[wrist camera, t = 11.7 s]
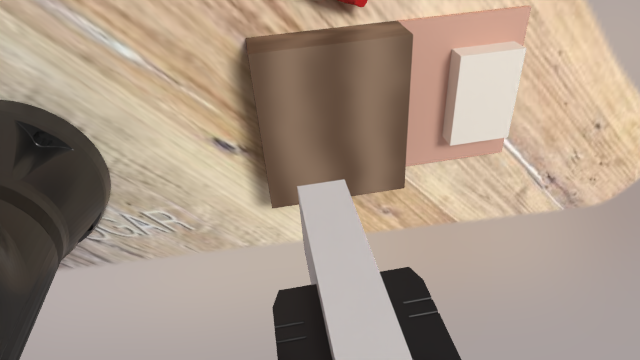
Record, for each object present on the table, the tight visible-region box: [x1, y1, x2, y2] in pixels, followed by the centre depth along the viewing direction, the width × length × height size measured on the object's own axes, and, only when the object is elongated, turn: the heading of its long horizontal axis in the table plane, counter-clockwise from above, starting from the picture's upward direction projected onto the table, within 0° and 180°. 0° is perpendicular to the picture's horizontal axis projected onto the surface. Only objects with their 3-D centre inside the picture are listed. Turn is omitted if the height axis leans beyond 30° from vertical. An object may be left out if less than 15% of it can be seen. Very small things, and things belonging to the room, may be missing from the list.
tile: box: [442, 41, 526, 146], centre depth 42 cm, size 6×9×2 cm, turn 3°
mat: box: [398, 6, 531, 166], centre depth 43 cm, size 12×15×1 cm
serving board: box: [246, 21, 413, 208], centre depth 40 cm, size 13×15×4 cm
